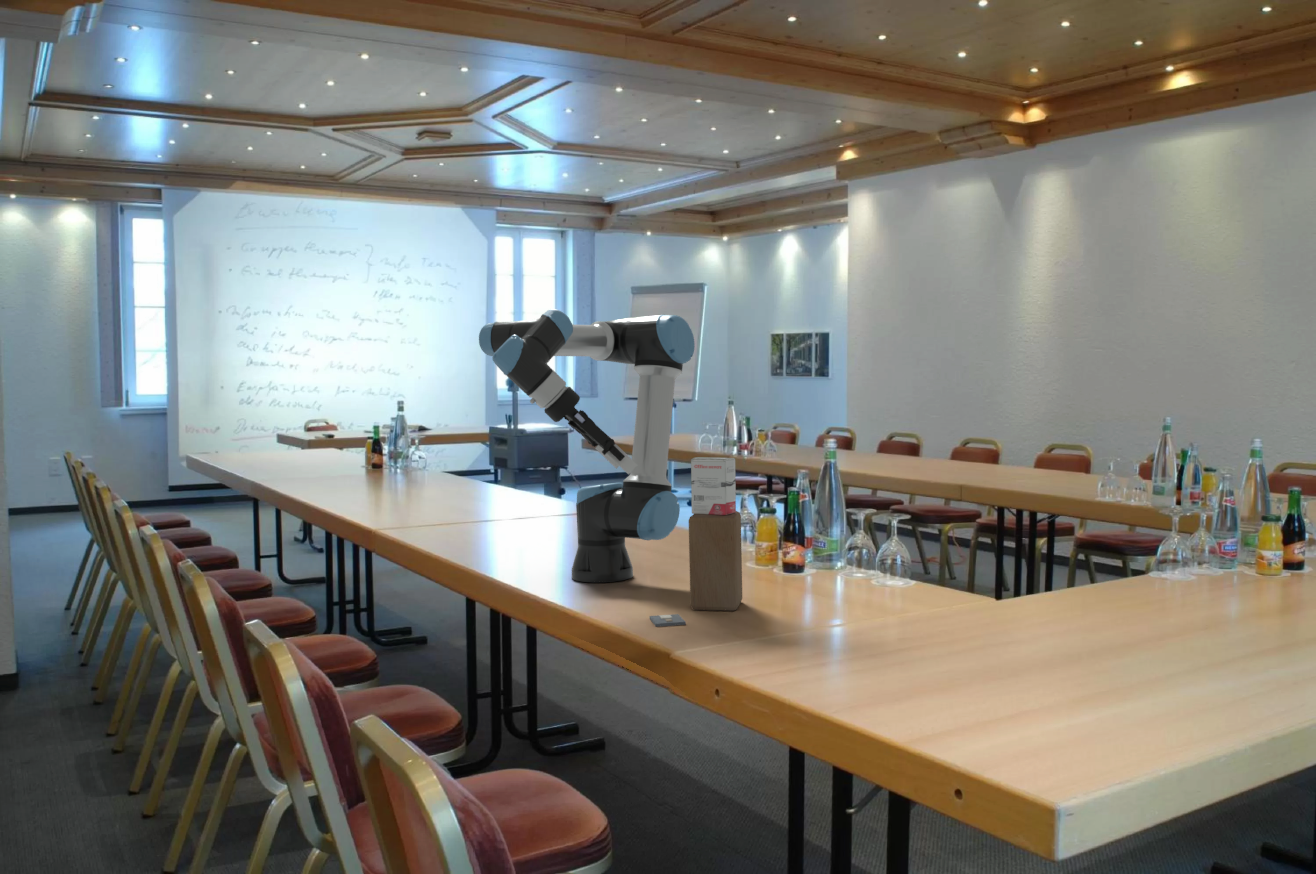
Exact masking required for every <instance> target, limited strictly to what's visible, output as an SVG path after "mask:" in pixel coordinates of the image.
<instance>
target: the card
mask: <svg viewBox="0 0 1316 874" xmlns="http://www.w3.org/2000/svg"><path fill="white" fill-rule="evenodd" d="M648 617H649V620H650V621H651V623H652V624H653V625H654V627H657V628H659V627H672V626H673V627H675V626H684V625H685V626H686V623H687V622H686V620H684V618H682V616H681V615H680V614H678V613H675V614H673V613H672V614H659V615H658V614H657V615H649V616H648Z"/></svg>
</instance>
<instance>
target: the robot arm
mask: <svg viewBox="0 0 1316 874" xmlns="http://www.w3.org/2000/svg"><path fill="white" fill-rule="evenodd" d="M478 344H479V347H480V349H481V351H482V352H483V353H484V354H485V355H486V356H489V357H492V358H491V359H492V361H493V363H494V364H495V365H496V366H497V368H498V369H499V370H500V371H501V372H502V374H503V375H505V376H506V377H508V379H509V380H510V381H512V382H513V384H515V385H516V386H517V387H518V388H519V389H520V390H521V391H522V392H523V393H524V394H526V396H528V398H530V400H529V402H530V403H531V404H532V405H533V404H536V405H537V406H538V407H539V408H540V409H543V410H544V413H545V414H546V415H547V416H548V417H549V418H550V419H551V420H552V421H553V422H554V423H558V422H560V421H561V420H563V419H564V420H566V421H567V424H568V425H569V426H570V427H571V428H572V429H573V430H574V431H576V432H577V434H580V435H581V437H583V438H584V439H585V441H586V442H587V443H588V444H589V445H591V446H592V447H594V449H595V450H596V451H597V452H598V453H599V454H601V456H603V457H604V458H605V460H607V461H608V462H609V463H610V464H611V465H612V466H613V467H614V468H615V469H618V468H619V467H620V468H621V470H623V471H624V472H625V473H626V474H627V476H626V478H625V479H623V480H622V481H623V482H620V481H619V482H612V483H611V482H610V483H603V484H597V485H587V486H583V487H580V488H579V489H578V490H577V492H576V504H575V507H576V525H577V526H576V527H577V528H576V530H577V550H576V553H575V557H574V560H573V564H572V567H571V579H572V580H573V581H575V582H581V583H582V582H583V583H597V584H599V583H613V582H621V581H625V580H629V579H632V578H633V576H634V569H633V564H632V562H631V558H630V556H629V553H628V551H627V550H628V549H627V548H626V539H627V538H628V539H635V540H636V539H637V540H643V541H651V540H653V541H660V540H663V539H665V538H667V537H668V536H669V535H670V534H671V533H672V532H673V531H674V530H675V528H676V526H677V524H678V521H679V517H680V508H681V507H680V503H679V499H678V497H677V496H676V495H675V493H673V492H672V488H673V487H672V484H671V482H670V481H669V480H668V478H667V470H668V460H669V459H668V458H669V449H670V438H671V437H670V436H671V426H672V418H673V417H672V416H673V406H674V394H675V393H674V392H675V386H676V385H675V383H676V379H677V378H679V376H680V375H681V374H683V365H684V364H687V363H688V362H689V361H690V360H691V359H692V357H693V356H694V353H695V344H696V343H695V337H694V334H693V330H692V328H691V327H690V325H689V323H688V321H687V320H685V318H683V317H682V316H679V315H675V314H664V313H663V314H660V315H649V316H648V315H646V316H631V317H630V316H629V317H624V318H619V319H612V320H606V321H602V320H601V321H599V320H597V321H594V322H592V323H591V324H573V323H572V321H571V319H570V317H569V316H568V315H567V314H566V313H565V312H563V311H562V310H559V309H556V308H552V309H551V308H550V309H548V310H546V311H545V312H544V313H543V314H541V315H540V317H539V318H537V319H525V320H513V321H511V320H510V321H494V322H488V323H486V324H485V325H483V326H482V327H481V328H480V331H479V334H478ZM553 357H589V358H591V359H592V360H594V361H600V362H601V361H604V362H613V363H619V364H624V365H625V364H626V365H627V364H628V365H634V366H633V367H634V368H633V369H634V370H635V371H636V373H637V374H638V375H639V379H638V381H639V382H638V390H637V391H638V393H637V400H636V401H637V402H636V412H635V423H634V433H633V443H632V454H631V457H630V456H629V455H628V454H627V453H626V452H625V451H624V450H623V449H622V448H621V447H620V446H619V445H618V444H617V443H615V440H614V439H613V438H611V437H610V436H609V435H608V434H607V433H606V432H604V431H603V429H601V428H600V427H599V426H598V425H597V424H596V423H595V422H594V421H593V420H592V419H591V418H590V417H589V416H588V414H587V413H586V412H585V411H584V410H582V409H580V410H578V409H577V408H576V406H577V404H578V403H579V402H580V400H581V396H580V395H579V394H578V393H577V392H576V391H575V390H574V389H573V388H572V387H571V386H567V382H566V381H565V380H564V379H563V378H562V377H561V376H560V375H559V374H558V373H557V372H556V371H554V369H552V368H551V366H550V365H549V364H548V363H549V362H550V361H551V359H552V358H553Z"/></svg>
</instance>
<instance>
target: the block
mask: <svg viewBox="0 0 1316 874" xmlns="http://www.w3.org/2000/svg"><path fill="white" fill-rule="evenodd" d="M688 550H689V551H688V552H689V553H688V554H689V555H688V557H689V559H688V561H689V594H690V595H689V598H690V602H689V603H690V607H691V609H692V610H694V611H713V612H714V611H717V612H718V611H719V612H734V611H736V610H737V609H738V608H739V606H740V604H741V602H742V600H743V562H742V561H743V560H742V555H743V554H742V515H741V513H740V512H739V511H737V510H736V512H735V513H732V514H728V515H712V514H691V516H689V517H688Z"/></svg>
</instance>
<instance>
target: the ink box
mask: <svg viewBox="0 0 1316 874" xmlns="http://www.w3.org/2000/svg"><path fill="white" fill-rule="evenodd" d="M690 468H691V470H690V476H691V477H690V479H691V489H690V490H691V491H690V493H691V515H693V514H712V515H728V514H732V513H735V512H736V511H737V509H736V508H737V506H736V505H737V503H736V502H737V501H736V497H737V494H736V493H737V491H736V488H737V487H736V458H734V457H709V456H708V457H702V456H699V457H697V456H696V457H693V458H691V459H690Z"/></svg>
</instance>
